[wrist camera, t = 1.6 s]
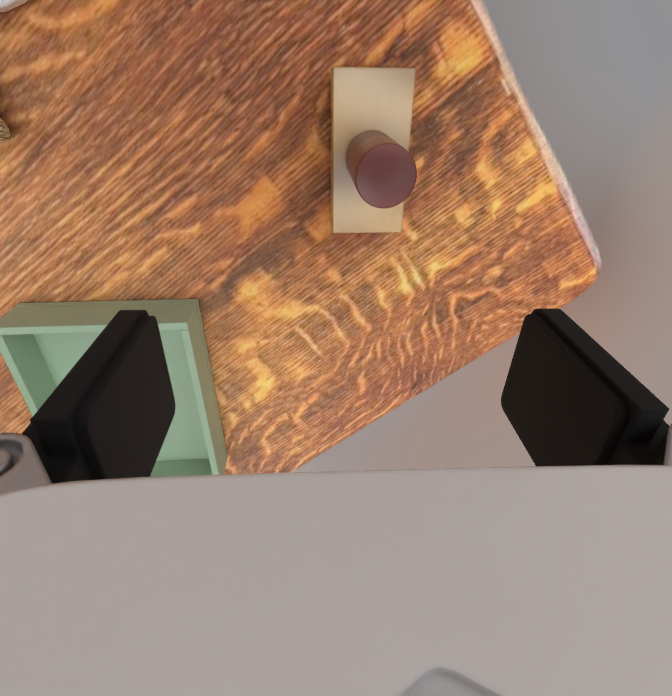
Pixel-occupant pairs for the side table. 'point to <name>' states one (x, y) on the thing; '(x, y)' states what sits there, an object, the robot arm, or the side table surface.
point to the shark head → (4, 131)
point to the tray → (77, 336)
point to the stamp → (371, 147)
